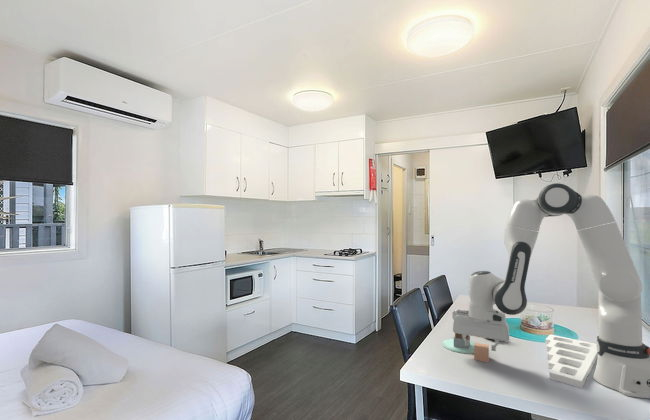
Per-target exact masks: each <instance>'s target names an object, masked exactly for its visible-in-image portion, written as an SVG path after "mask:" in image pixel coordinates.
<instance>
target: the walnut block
mask: <svg viewBox="0 0 650 420" xmlns="http://www.w3.org/2000/svg"><path fill="white" fill-rule="evenodd" d="M454 336H455V338H461V339H463V338H462V334H458V333H454ZM469 336H470V335H466V339H467V340H468V337H469Z"/></svg>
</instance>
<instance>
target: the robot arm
mask: <svg viewBox="0 0 650 420" xmlns="http://www.w3.org/2000/svg"><path fill="white" fill-rule="evenodd" d="M563 215H567V216H569V217H570V218H571V220H572V222H573V223H574V225H575V228H576V231H577V234H578V236H579V239H580V242H581V244H582V246H583V249H584V251H585V254H586V257H587V260H588V263H589V267H590V269H591V272H592V275H593V278H594V280H595V284H596V286H597V288H598V294H597V296H598V298H597V299H598V305H597V306H598V308H597V309H598V311H597V315H598V316H597V319H598V320H597V321H598V322H597V323H598V324H597V325H598V335H597V337H596V344H597V353H598V357H597V359H596V366H595V370H594V372H593V375H592V377H593V380H595V381H596V382H598V384H601V385H603V386H604V387H608V388H610V389H613V390H615V391H616V392H620V393H621V394H623V395H625V396H628V397H634V398H642V399H650V346H648V345H646V344H644V343H643V318H642V317H643V316H642V314H643V313H642V299H641V298H642V295H641V294H642V291H643V283H642V280H641V278H640V276H639V274H638V272H637V268H636V266H635V264H634V262H633V259H632V257H631V254H630V252H629V250H628V247H627V245H626V242H625V240H624V238H623V236H622V233H621V231H620V228H619V226H618V224H617V222H616V219H615V216H614V215H613V212H612V211H611V209H610V208H609V206H608V204H607V203H606V202H605V201H604V199H603V198H602V197H600V196H598V195H593V194H590V195H589V194H588V195H581V194H580V193H578V192H576V191H575V190H574V189H573V188H571V187H570V186H568V185H566V184H564V183H558V182H557V183H550V184H548V185H546V186H544V187H543V188H541V190H540V192H539V194H538V196H537V198H535V199H526V198H524V199H519V200H517V201H515V203H513V206H512V207H511V209H510V212H509V215H508V217H507V220H506V225H505V229H504V233H503V235H504V237H503V243H504V245H505V248H506V250H507V253H508V263H507V269H506V273H505V277H504V278H505V279H503V278H500V277H498V276H497V275H495V274H494V273H492V272H491V271H490V270H489V271H488V270H479V271H473V273H471V274H470V276H469V280H468V295H469V300H468V304H467V305H468V310H466V309H465V310H461V309H456V310H454V311H452V320H453V324H452V332H453V333H454V334H455V333H458V334H462V338H463V339H464V341H465V346H469V341H467V339H466V335H469V336H470V337H477V338H484V339H486V338H487V339H490V340H494V344H491V347H490V348H491V351H493V352H496V351H497V350H496V349H497V346H498V345H499V343H500V342H508V341H510V328H509V325H508V322H507V321H506V320H507V316H506V315H509V316H515V315H519V314H521V313H522V312H524V310H526V308H527V306H528V305H527V304H528V300H527V299H528V298H527V293H526V290H525V289H526V282H527V281H526V280H527V276H528V275H527V274H528V271H529V270H528V269H529V266H530V261H531V257H532V254H533V252H534V248H535V245H536V242H537V239H538V235H539V233H540V228H541V225H542V222H543V220H544V218H546V217H559V216H563ZM494 305H495V306H496V308H497V309H498V310H497V309H495V308H494Z"/></svg>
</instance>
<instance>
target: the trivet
mask: <svg viewBox="0 0 650 420" xmlns="http://www.w3.org/2000/svg"><path fill="white" fill-rule="evenodd" d="M545 345H546V347H545V349H546V352H547V353H546V360H548V362H547V365H548V367H547V368H548V369H549V370H550V371H549V379H550V380H553V381H557V382H560V383H563V384H567V385H570V386H573V385H574V387H578V388H580V387H582V386H584V385H583V384H585V383H586V381H587V379H588V377H589V375H590V373H591V371H592V369H593V366H594V364H595V363H596V362H597V359H598V353H597V343H593V342H588V341H584V340H579V339H575V338H569V337H564V336H561V335H556V334H549V335H548V336H547V337H546V338H545ZM567 373H568V374H567ZM571 374H572V375H571ZM588 374H589V375H588ZM587 376H588V377H587ZM586 378H587V379H586ZM585 380H586V381H585ZM584 382H585V383H584ZM582 388H583V387H582Z"/></svg>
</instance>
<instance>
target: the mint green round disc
mask: <svg viewBox="0 0 650 420" xmlns="http://www.w3.org/2000/svg"><path fill="white" fill-rule="evenodd" d="M467 341H469V346H465V341H464V339H461V338H455V335H454V336H453V338H448V339H444V340H443V341H442V342H441V344H443V345H442V347H443V348H445V349H446V348H447V350H448V349H449V350H448V351H451V352H455V353H459V354H464V355H465V354H468V355H469V354H470V355H474V344H475V343H476V342H475V341H472V340H471V336H470V335H469V337H468V340H467Z"/></svg>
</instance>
